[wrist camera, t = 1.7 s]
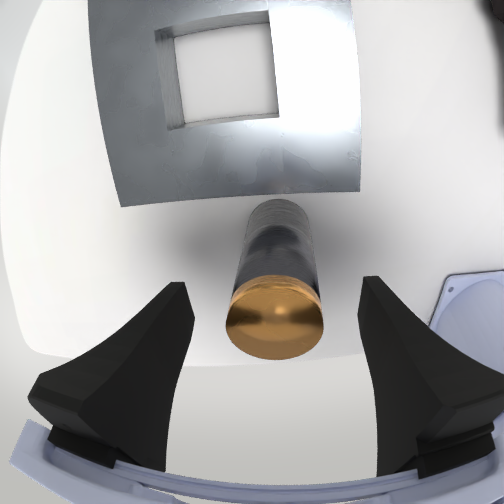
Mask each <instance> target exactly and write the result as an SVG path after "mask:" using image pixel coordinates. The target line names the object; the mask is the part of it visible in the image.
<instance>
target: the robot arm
mask: <svg viewBox="0 0 504 504" xmlns="http://www.w3.org/2000/svg"><path fill="white" fill-rule="evenodd" d="M450 287H451V288H450ZM449 288H450V289H449ZM357 315H358V322H359V329H360V336H361V340H362V343H363V347H364V351H365V355H366V359H367V362H368V366H369V370H370V374H371V378H372V383H373V388H374V396H375V406H376V418H377V445H378V452H377V455H378V456H377V476H376V477H375V478H369V479H362V480H355V481H347V482H339V483H327V484H313V485H255V484H239V483H228V482H219V481H210V480H203V479H196V478H191V477H185V476H180V475H174V474H169V473H165V471H166V449H167V439H168V429H169V421H170V415H171V409H172V403H173V397H174V392H175V388H176V384H177V381H178V378H179V374H180V371H181V369H182V365H183V362H184V359H185V356H186V353H187V350H188V347H189V344H190V341H191V337H192V332H193V327H194V321H195V316H194V313H193V310H192V306H191V303H190V300H189V296H188V293H187V289H186V286H185V282H170V283H169V284H168V285H167V286H166V287H165V288H164V289H163V290H162V291H161V292H160V293H159V294H157V295H156V296H155V297H154V298H153V299H152V300H151V301H150V302H149V303H148V304H147V305H146V306H145V307H144V308H143V309H142V310H141V311H140V312H139V313H138V314H136V315H135V316H134V317H133V318H132V319H131V320H130V321H128V322H127V323H126V324H125V325H124V326H123V327H122V328H120V329H119V330H118V331H117V332H115V333H114V334H113V335H111V336H110V337H109V338H107V339H106V340H105V341H103V342H102V343H100V344H99V345H97V346H95V347H94V348H92V349H91V350H89V351H87V352H86V353H84V354H82V355H81V356H79V357H77V358H75V359H73V360H71V361H69V362H67V363H65V364H63V365H61V366H58V367H56V368H54V369H51V370H49V371H46V372H44V373H41V374H40V375H39V377H38V378H37V380H36V382H35V384H34V385H33V387H32V389H31V391H30V393H29V395H28V400H29V403H30V404H31V405H32V406H33V407H34V408H35V409H36V410H37V411H38V412H39V413H40V414H41V415H42V416H43V417H44V418H45V419H46V420H47V421H49V422H50V423H51V424H52V425H53V427H52V430H49V429H48V428H46V427H44V426H42V425H40V424H38V423H36V422H34V421H32V420H30V419H28V420H27V422H26V424H25V426H24V428H23V430H22V433H21V435H20V437H19V439H18V442H17V444H16V446H15V448H14V451H13V453H12V456H11V458H10V461H9V463H10V464H11V465H12V466H14V467H15V468H17V469H18V470H19V471H21V472H22V473H24V474H25V475H27V476H28V477H30V478H31V479H33V480H34V481H36V482H37V483H39V484H40V485H42V486H44V487H45V488H47V489H48V490H50V491H51V492H53V493H55V494H56V495H58V496H60V497H61V498H63V499H65V500H67V501H68V502H70V503H72V504H188V503H185V502H182V501H180V500H178V499H176V498H175V497H174V496H172V495H169V494H165V493H162V492H158V491H155V490H152V489H149V488H153V489H156V490H160V491H165V492H169V493H174V494H179V495H183V496H189V497H195V498H200V499H207V500H214V501H222V502H231V503H242V504H326V503H337V502H346V501H353V500H360V499H364V500H360V501H355V502H350V503H345V504H504V271H498V272H488V273H477V274H466V275H455V276H450V277H449V278H448V279H447V280H446V282H445V285H444V288H443V291H442V294H441V297H440V300H439V303H438V305H437V308H436V311H435V314H434V316H433V319H432V321H431V324H430V326H429V327H428V326H427V325H426V324H425V323H423V322H422V321H421V320H420V319H419V318H418V317H417V316H416V315H415V314H414V313H413V312H412V311H411V310H410V309H409V308H408V307H407V306H406V305H405V304H404V303H403V302H402V301H401V300H400V299H399V298H398V297H397V296H396V295H395V293H394V292H393V291H392V290H391V289H390V288H389V287H388V286H387V285H386V284H385V283H384V282H383V280H382V279H381V278H380V277H379V276H365V277H363V284H362V290H361V296H360V302H359V308H358V314H357ZM148 487H149V488H148ZM367 498H368V499H367Z"/></svg>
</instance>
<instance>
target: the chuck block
mask: <svg viewBox="0 0 504 504" xmlns="http://www.w3.org/2000/svg"><path fill="white" fill-rule="evenodd" d="M88 19H89V35H90V47H91V57H92V66H93V74H94V82H95V89H96V96H97V102H98V108H99V114H100V119H101V125H102V130H103V135H104V140H105V144H106V149H107V154H108V158H109V162H110V167H111V171H112V175H113V179H114V183H115V187H116V191H117V194H118V198H119V202H120V205H121V207H128V206H136V205H145V204H154V203H163V202H173V201H184V200H195V199H207V198H220V197H234V196H250V195H268V194H290V193H321V192H360V173H361V111H360V87H359V71H358V58H357V48H356V38H355V29H354V21H353V14H352V7H351V1H350V0H88ZM268 22H270V26H271V35H272V44H273V53H274V62H275V72H276V82H277V92H278V103H279V113H274V114H260V115H248V116H237V117H228V118H220V119H212V120H204V121H197V122H191V123H185V124H184V117H183V110H182V103H181V96H180V89H179V82H178V74H177V66H176V58H175V50H174V41H173V37H177V36H181V35H186V34H190V33H195V32H200V31H205V30H211V29H217V28H223V27H230V26H237V25H246V24H256V23H268Z"/></svg>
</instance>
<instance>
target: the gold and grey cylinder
mask: <svg viewBox="0 0 504 504" xmlns="http://www.w3.org/2000/svg"><path fill="white" fill-rule="evenodd" d="M226 331H227V334H228V336H229V338H230V340H231V341H232V343H233V344H234V345H235V346H236V347H238V348H239V349H240V350H242V351H243V352H245V353H247V354H249V355H252V356H254V357H258V358H262V359H268V360H284V359H290V358H294V357H297V356H300V355H302V354H304V353H306V352H308V351H309V350H311V349H312V348H313V347H314V346H315V345H316V344H317V343H318V342H319V340H320V339H321V337H322V334H323V317H322V309H321V301H320V293H319V286H318V279H317V272H316V265H315V259H314V252H313V246H312V240H311V234H310V228H309V222H308V218H307V216H306V214H305V212H304V211H303V210H302V209H301V208H300V207H299V206H298V205H297V204H295V203H293V202H291V201H288V200H283V199H274V200H269V201H266V202H264V203H262V204H260V205H259V206H258V207H257V208H256V209H255V210H254V211H253V213H252V214H251V216H250V219H249V223H248V228H247V232H246V236H245V240H244V245H243V249H242V254H241V258H240V262H239V267H238V271H237V275H236V280H235V284H234V289H233V293H232V297H231V302H230V306H229V311H228V315H227V320H226Z"/></svg>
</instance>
